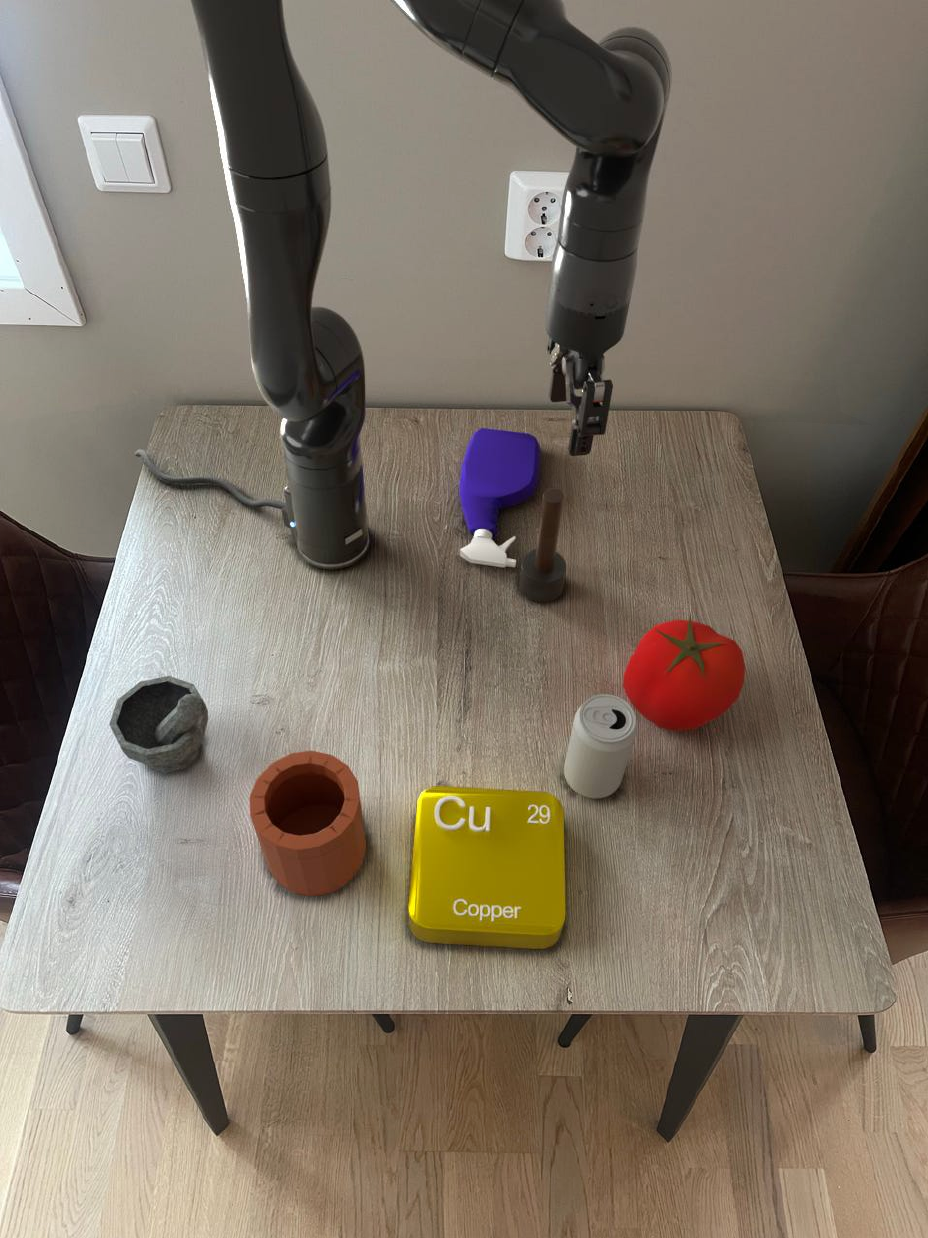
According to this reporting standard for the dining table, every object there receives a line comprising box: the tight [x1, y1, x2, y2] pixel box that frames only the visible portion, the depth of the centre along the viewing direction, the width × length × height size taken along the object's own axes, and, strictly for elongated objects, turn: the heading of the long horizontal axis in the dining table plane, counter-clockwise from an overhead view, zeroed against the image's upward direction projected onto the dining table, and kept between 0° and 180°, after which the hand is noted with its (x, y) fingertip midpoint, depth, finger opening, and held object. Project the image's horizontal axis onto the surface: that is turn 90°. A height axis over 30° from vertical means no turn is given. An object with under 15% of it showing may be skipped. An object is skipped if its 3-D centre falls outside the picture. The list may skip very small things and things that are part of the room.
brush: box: [518, 487, 567, 604], centre depth 112 cm, size 6×6×16 cm
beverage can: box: [563, 693, 638, 799], centre depth 97 cm, size 6×6×12 cm
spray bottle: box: [458, 427, 541, 568], centre depth 127 cm, size 3×11×24 cm
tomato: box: [622, 612, 746, 732], centre depth 103 cm, size 12×13×12 cm
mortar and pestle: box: [108, 675, 209, 774], centre depth 98 cm, size 11×9×12 cm
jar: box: [249, 750, 367, 897], centre depth 91 cm, size 10×10×11 cm
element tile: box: [407, 785, 567, 950], centre depth 92 cm, size 15×15×5 cm
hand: (568, 425), depth 97 cm, fingers open, 8 cm apart
